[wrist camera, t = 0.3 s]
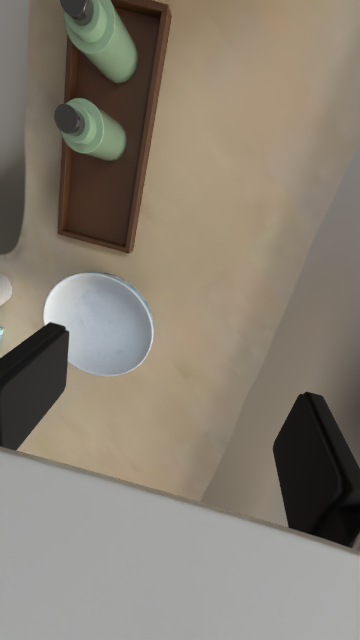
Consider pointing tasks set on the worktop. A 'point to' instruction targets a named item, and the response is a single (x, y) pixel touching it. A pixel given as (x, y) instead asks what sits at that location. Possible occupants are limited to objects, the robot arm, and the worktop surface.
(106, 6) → the green bottle
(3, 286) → the dixie cup
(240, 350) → the worktop surface
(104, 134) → the green bottle
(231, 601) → the robot arm
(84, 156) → the tray
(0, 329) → the l-shaped corner panel
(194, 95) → the worktop surface
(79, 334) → the chinaware
